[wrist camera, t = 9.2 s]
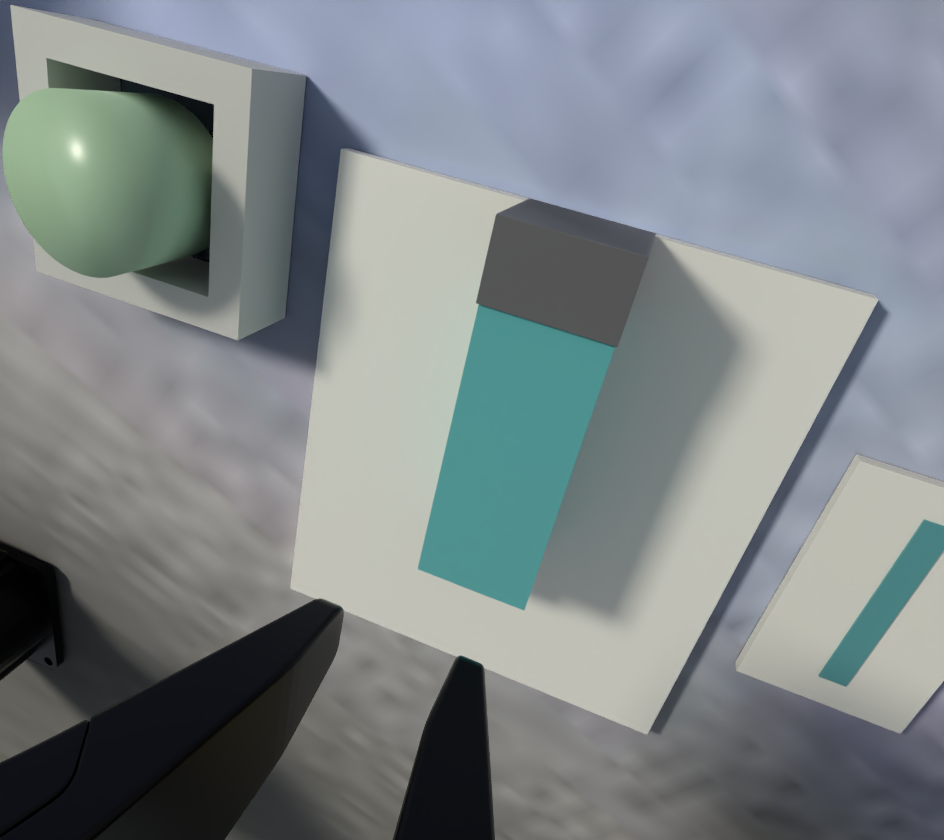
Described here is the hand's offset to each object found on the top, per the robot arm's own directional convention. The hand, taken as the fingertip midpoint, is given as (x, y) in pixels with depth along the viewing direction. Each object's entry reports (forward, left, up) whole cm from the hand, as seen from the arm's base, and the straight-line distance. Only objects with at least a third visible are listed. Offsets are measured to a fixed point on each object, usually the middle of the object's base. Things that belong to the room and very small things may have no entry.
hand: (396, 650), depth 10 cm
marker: (0, 0, -10) cm, 11 cm away
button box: (+3, +12, -11) cm, 17 cm away
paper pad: (-3, 0, -11) cm, 11 cm away
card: (-3, -11, -11) cm, 16 cm away
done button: (+3, +12, -10) cm, 16 cm away
